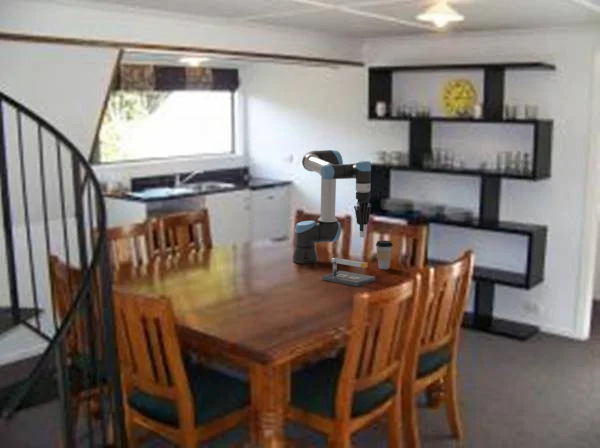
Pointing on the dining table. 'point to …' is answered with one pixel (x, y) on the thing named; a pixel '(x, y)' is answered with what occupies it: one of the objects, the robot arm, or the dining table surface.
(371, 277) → the chassis
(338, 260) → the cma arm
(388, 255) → the coffee cup
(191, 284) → the dining table surface
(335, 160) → the robot arm
